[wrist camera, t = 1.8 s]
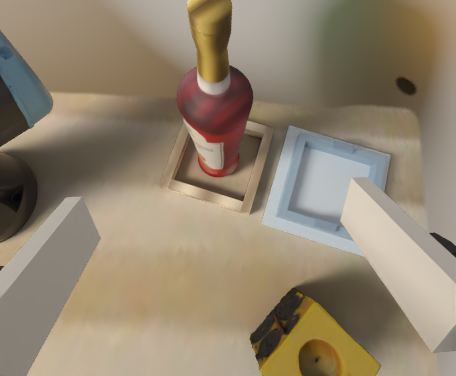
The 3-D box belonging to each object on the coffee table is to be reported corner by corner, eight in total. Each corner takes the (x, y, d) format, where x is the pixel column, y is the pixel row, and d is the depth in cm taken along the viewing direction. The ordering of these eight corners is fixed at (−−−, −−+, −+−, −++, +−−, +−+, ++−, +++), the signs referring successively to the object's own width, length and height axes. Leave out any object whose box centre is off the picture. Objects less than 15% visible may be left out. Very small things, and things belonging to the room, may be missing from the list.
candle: (298, 392, 35) (328, 451, 25) (246, 337, 36) (255, 373, 26) (343, 335, 36) (386, 369, 27) (291, 285, 38) (315, 299, 28)
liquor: (188, 158, 42) (121, 0, 14) (220, 131, 43) (214, -61, 16) (217, 189, 41) (203, 82, 13) (249, 161, 42) (296, 10, 15)
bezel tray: (260, 224, 40) (264, 222, 36) (288, 126, 43) (293, 117, 40) (369, 258, 39) (383, 260, 35) (388, 156, 42) (402, 149, 39)
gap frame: (162, 187, 41) (158, 184, 39) (191, 109, 44) (190, 103, 42) (248, 214, 40) (249, 213, 38) (272, 133, 43) (274, 128, 41)
